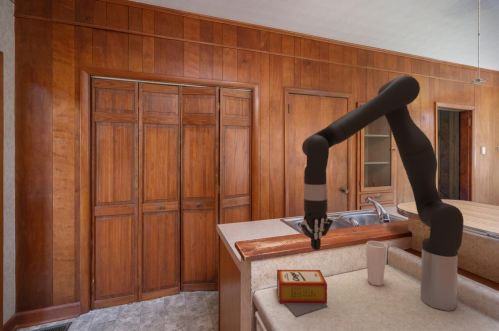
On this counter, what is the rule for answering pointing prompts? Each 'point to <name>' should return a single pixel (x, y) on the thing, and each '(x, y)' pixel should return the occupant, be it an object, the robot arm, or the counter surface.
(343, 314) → the counter surface
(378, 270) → the pinkish beige cup
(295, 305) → the mat
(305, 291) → the baking soda box
